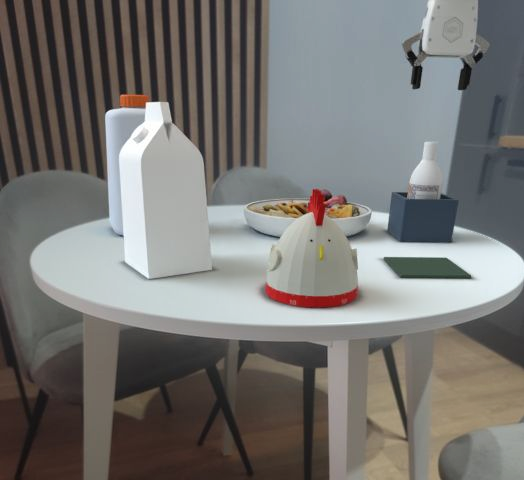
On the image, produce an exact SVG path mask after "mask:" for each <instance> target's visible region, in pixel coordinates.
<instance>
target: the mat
mask: <svg viewBox="0 0 524 480" xmlns="http://www.w3.org/2000/svg"><path fill="white" fill-rule="evenodd" d="M383 260H384V262H385V263H386V264H387V265H388V266H389V267H390V268H391V269H392V270H393V272H395V273H396V274H397V276H399V278H402V279H403V278H405V279H415V278H416V279H472V275H471V274H470V273H468V272H467V271H466V270H464V269H463V268H462V267H460V266H459V265H457V264H456V263H454V262H453V261H452V260H450V259H449V258H448V257H438V256H437V257H435V256H434V257H433V256H431V257H430V256H428V257H427V256H425V257H424V256H423V257H422V256H384V257H383Z"/></svg>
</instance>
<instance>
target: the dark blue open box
mask: <svg viewBox="0 0 524 480" xmlns="http://www.w3.org/2000/svg"><path fill="white" fill-rule="evenodd" d="M407 196H408V191H391V197H390V203H389V204H390V205H389V211H388V222H387V229H386V231H387V232H388V233H389V234H390V235H391V236H392V237H393V238H395V239H396V240H397V241H398V242H400V243H452V242H453V236H454V235H453V234H454V229H455V225H456V219H457V212H458V207H459V201H460V200H459V199H457V198H455V197H452V196H450V195H448V194H446V193H445V194H444V193H442V192H441V196H440V199H407Z"/></svg>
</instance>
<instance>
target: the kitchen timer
mask: <svg viewBox="0 0 524 480" xmlns="http://www.w3.org/2000/svg"><path fill="white" fill-rule="evenodd" d="M311 190H312V191H311V195H309V199H310V202H308V213H307V214H305V215H303V216H301V217H300V218H298V219H297V220H295V221H294V222H293V223H292V224H291V225H290V226H289V227H288V228H287V229H286V230H285V232H284V233H283V234H282V236H281V237H279V239H278V240H277V243H276V244H274V243H273V244H272V245H271V247H270V251H269V257H268V262H267V266H266V267H267V270H266V271H267V272H266V278H265V294H266V295H267V297H268V298H270V299H272V300H273V301H276V302H278V303H282V304H284V305H288V306H289V305H290V306H294V307H299V308H300V307H302V308H330V307H331V308H332V307H339V306H342V305H346V304H349V303H351V302H353V301H355V300H356V298H357V296H358V288H359V276H358V270H359V263H358V249H357V248H352V246H351V244H350V242H349V239H348V238H347V237H346V236H345V234H344V232H343V231H342V229H341V228H340V227H339V226H338V224H337V223H336V222H335V221H334V220H332V219H331V218H330V217H328V216H327V215H325V207H326V205H323V204H324V194H321V191H319V190H320V189H319V188H312V189H311Z"/></svg>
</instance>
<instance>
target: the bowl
mask: <svg viewBox="0 0 524 480" xmlns="http://www.w3.org/2000/svg"><path fill="white" fill-rule="evenodd" d="M319 191H321V194H324V204H323V205H326V207H325V215H327V216H328V217H330V218H331V219H332V220H334V221H335V222H336V223H337V224H338V226H339V227H340V228H341V229H342V231H343V232H344V234H345V236H346V238H347V237H350V236H354V235H357V234H359V233H360V232H363V230H365V229H366V228H367V227H368V225H369V223H370V221H371V219H372V209H371V208H370V207H368V206H366V205H363V204H359V203H355V202H349V201H348V200H347V198H346V196H345V195H343V194H337V195H334V196H333V195H332V193H331V191H330V190H328V189H325V188H323V189H319ZM308 202H310V198H276V199H275V198H272V199H264V200H257V201H253V202H249V203H246V204H245V205H244V206H243V215H244V219H245V221H246V223H248V225H249V226H250V227H251V228H252V229H254V230H256V231H257V232H259V233H262V234H265V235H269V236H273V237H279V238H280V237H281V236H282V234H283V233H284V232H285V230H286V229H287V228H288V227H289V226H290V225H291V224H292V223H293V222H294V221H295V220H297V219H298V218H300V217H301V216H303V215H305V214H307V213H308Z"/></svg>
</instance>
